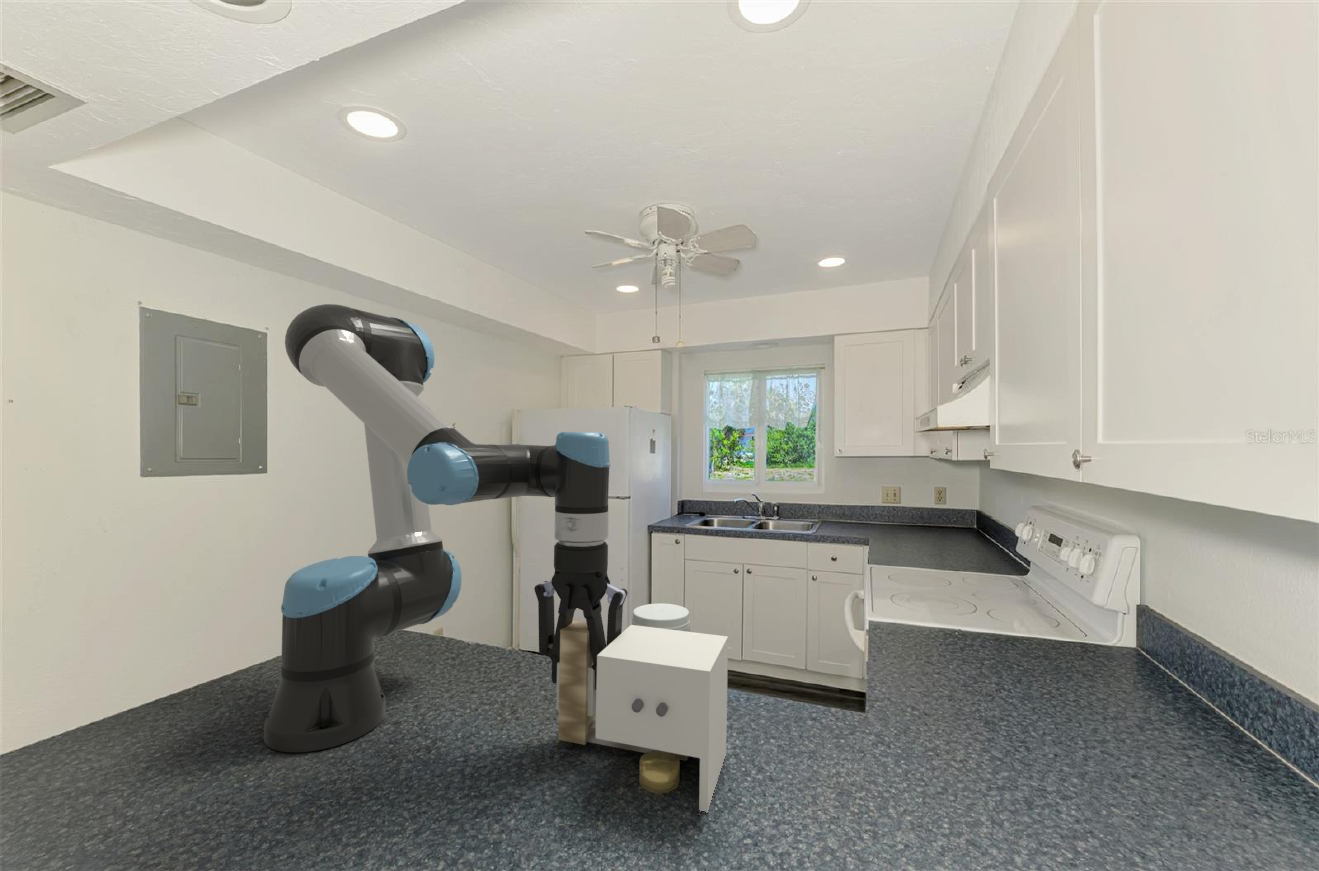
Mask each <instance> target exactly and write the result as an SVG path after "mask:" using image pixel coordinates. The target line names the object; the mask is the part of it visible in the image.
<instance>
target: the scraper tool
mask: <svg viewBox="0 0 1319 871" xmlns="http://www.w3.org/2000/svg"><path fill="white" fill-rule="evenodd" d="M592 664H593V658H592V652H591V646H590V640H589V631H588V628H587V622H586V621H585V622H584V621H577V620H576V621H575V620H573V621H572V623H571V624H570V625H568V626H567V627H565V628H562V629H561V630H560V675H559V711H558V727H557V728H558V729H557V730H558V737H557V739H558V740H559V741H563V742H569V743H574V744H579V745H583V746H585V745H587V743H593V744H597V745H602V746H607V747H612V748H617V749H623V750H628V751H633V752H639V753H643V754H645V753H647V752H650V751H654V750H655V749H649V748H644V747H639V746H634V745H628V744H623V743H618V742H613V741H607V740H602V739H597V738H596V713H595V714H594V715H593V716H587V709H588V668H589V667H590V666H591V665H592ZM673 754H675V755H676V756H677V757H678V758H679V761H680V760H681V761H688V759H689V757H690V756H686V755H681V754H676V753H673Z"/></svg>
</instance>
